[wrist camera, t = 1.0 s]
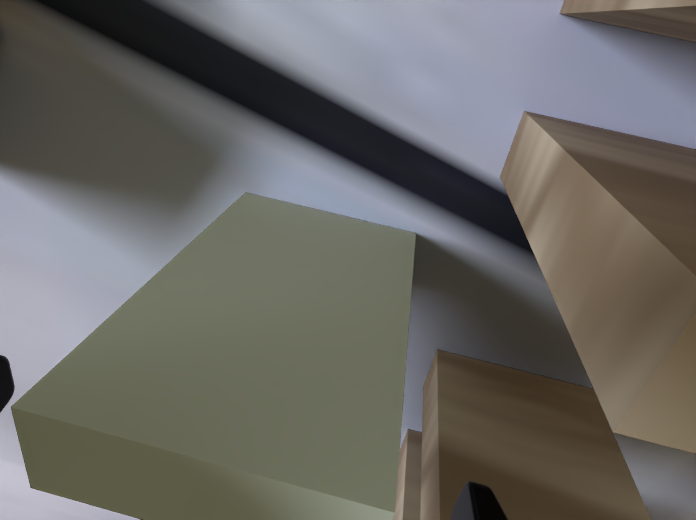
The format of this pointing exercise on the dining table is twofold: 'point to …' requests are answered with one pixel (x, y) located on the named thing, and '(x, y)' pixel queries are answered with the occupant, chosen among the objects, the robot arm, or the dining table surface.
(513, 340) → the dining table surface
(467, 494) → the robot arm
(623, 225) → the domino
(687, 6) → the domino
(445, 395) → the domino
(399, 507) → the domino
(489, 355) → the dining table surface
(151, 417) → the domino
